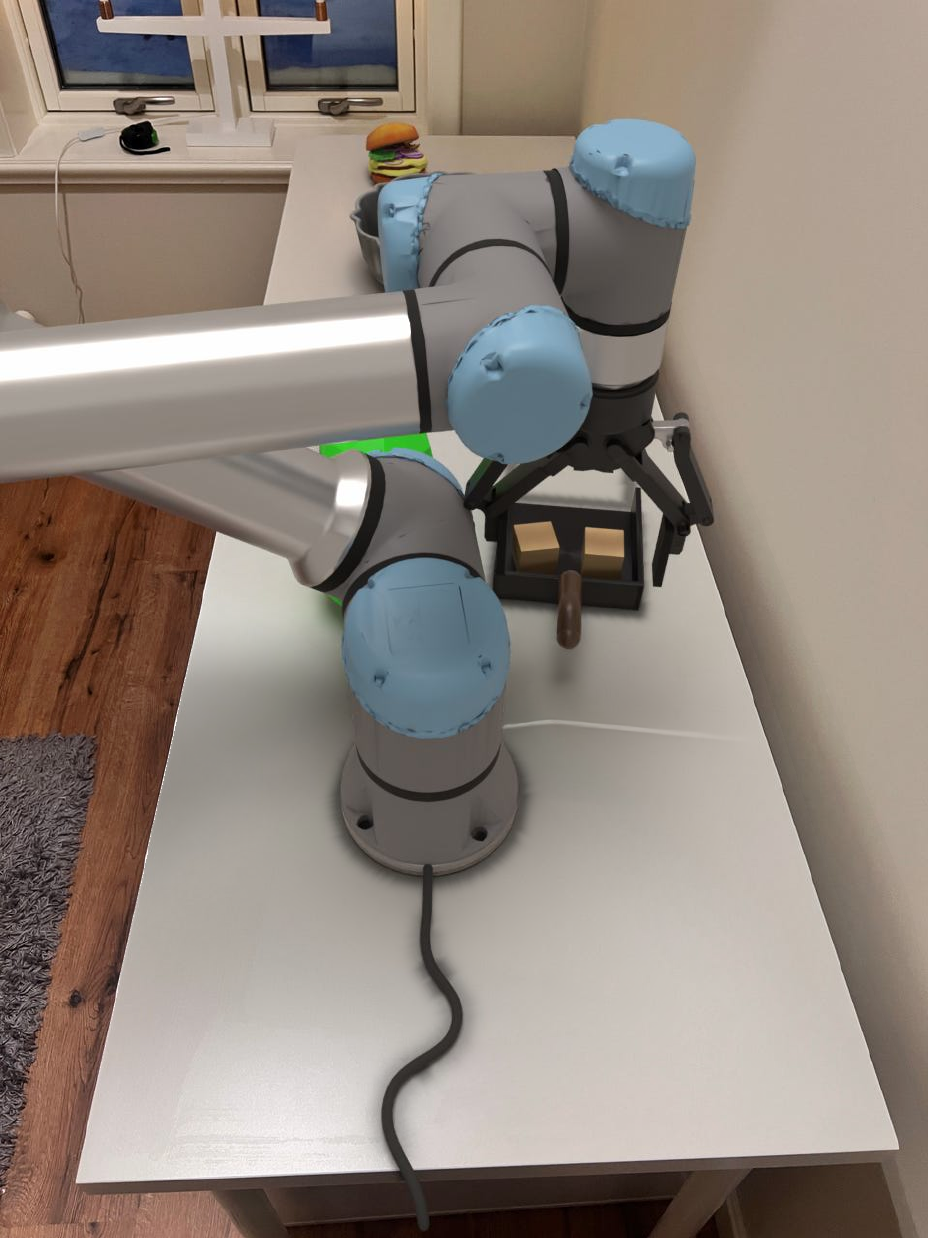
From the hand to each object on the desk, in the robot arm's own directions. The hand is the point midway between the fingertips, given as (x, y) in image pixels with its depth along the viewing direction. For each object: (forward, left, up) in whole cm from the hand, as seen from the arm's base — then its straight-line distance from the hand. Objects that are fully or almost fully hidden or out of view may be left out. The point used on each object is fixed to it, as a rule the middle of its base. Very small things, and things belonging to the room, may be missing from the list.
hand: (578, 570), depth 84 cm
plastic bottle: (+5, +21, -12) cm, 25 cm away
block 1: (+12, +4, -12) cm, 17 cm away
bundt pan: (+72, +20, -13) cm, 76 cm away
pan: (+9, 0, -12) cm, 15 cm away
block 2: (+12, -3, -12) cm, 17 cm away
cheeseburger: (+104, +32, -13) cm, 110 cm away
